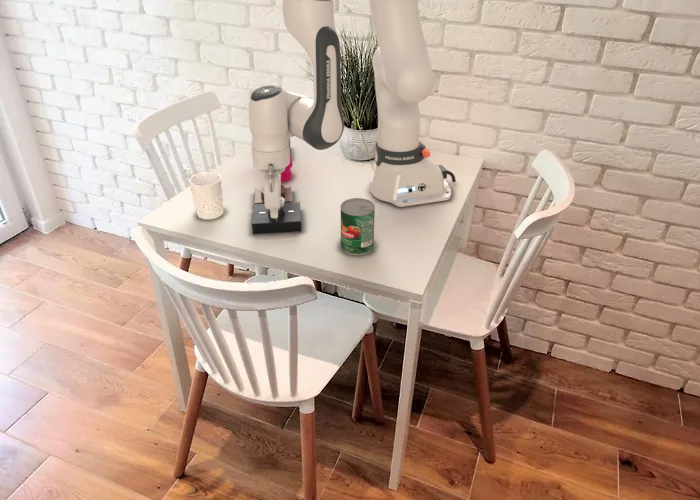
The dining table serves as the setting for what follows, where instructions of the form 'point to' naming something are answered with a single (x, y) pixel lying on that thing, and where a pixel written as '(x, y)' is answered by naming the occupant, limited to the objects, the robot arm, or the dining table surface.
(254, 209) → the hob panel
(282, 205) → the hob knob
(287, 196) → the button box
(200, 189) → the white cup
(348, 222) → the canned tomato
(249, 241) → the dining table surface
